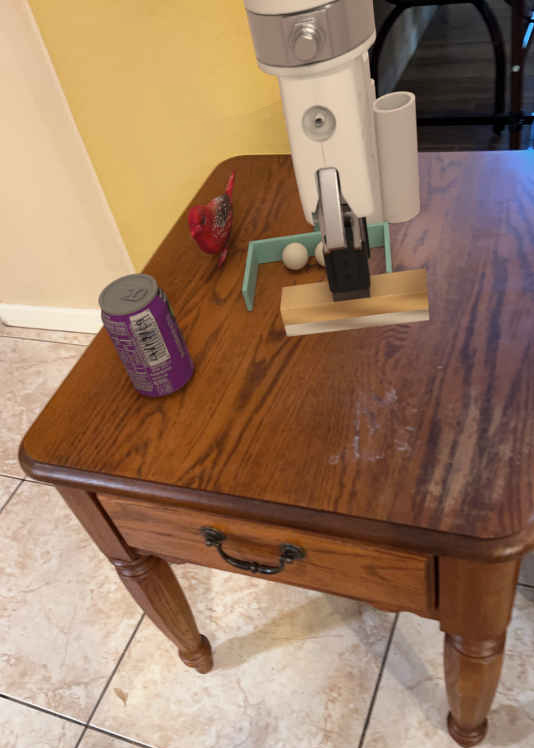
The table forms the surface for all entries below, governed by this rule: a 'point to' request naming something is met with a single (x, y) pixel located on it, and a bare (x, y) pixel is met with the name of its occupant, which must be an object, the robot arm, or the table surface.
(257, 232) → the table surface
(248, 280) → the teal open frame
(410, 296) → the brush
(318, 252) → the crumb
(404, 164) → the vase
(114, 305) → the beverage can
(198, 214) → the decorative bird figurine
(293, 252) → the crumb
